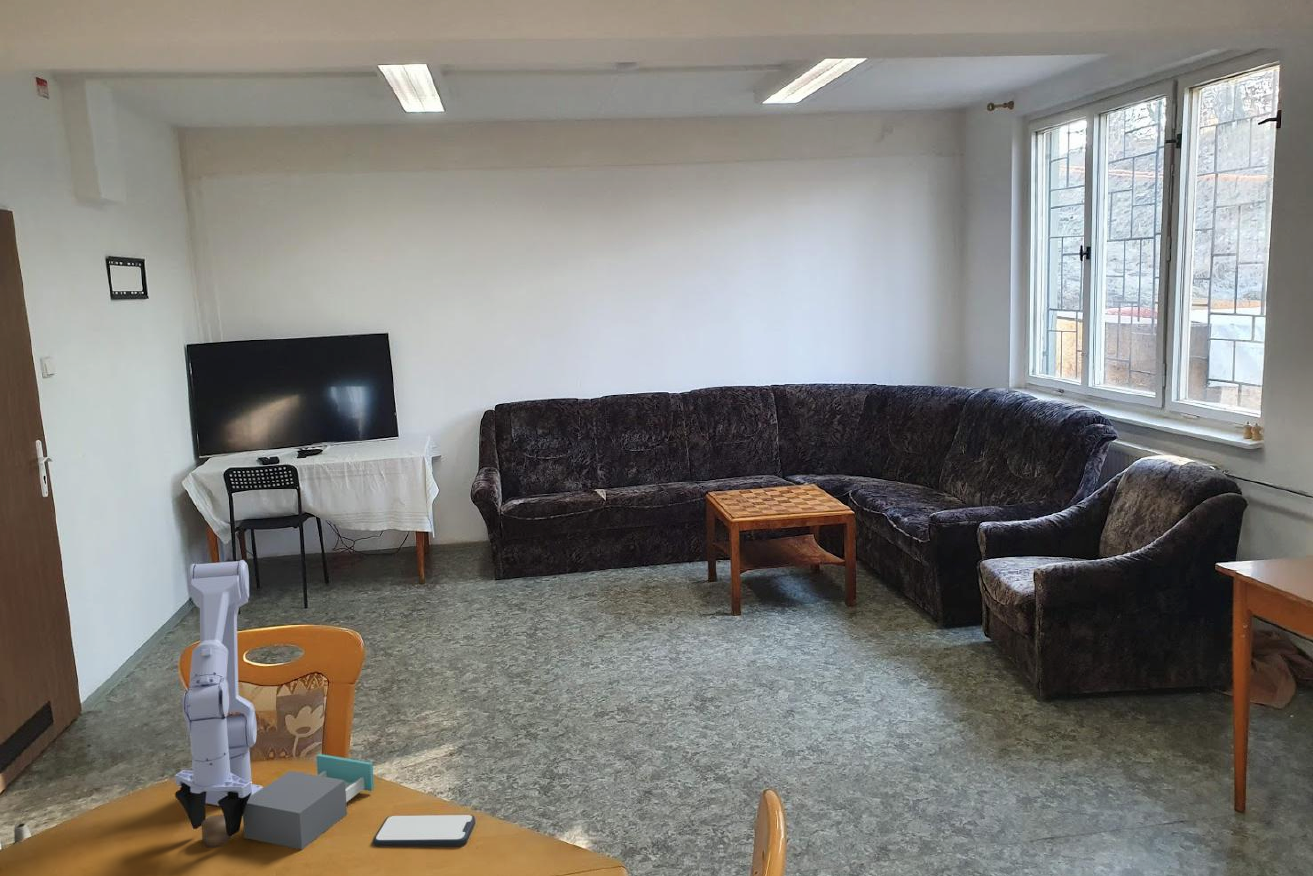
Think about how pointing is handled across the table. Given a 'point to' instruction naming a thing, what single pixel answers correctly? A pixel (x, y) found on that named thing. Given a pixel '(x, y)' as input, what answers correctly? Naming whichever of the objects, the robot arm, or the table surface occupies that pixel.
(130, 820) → the table surface
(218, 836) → the brown cork
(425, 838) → the smartphone
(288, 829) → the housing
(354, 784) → the tray
